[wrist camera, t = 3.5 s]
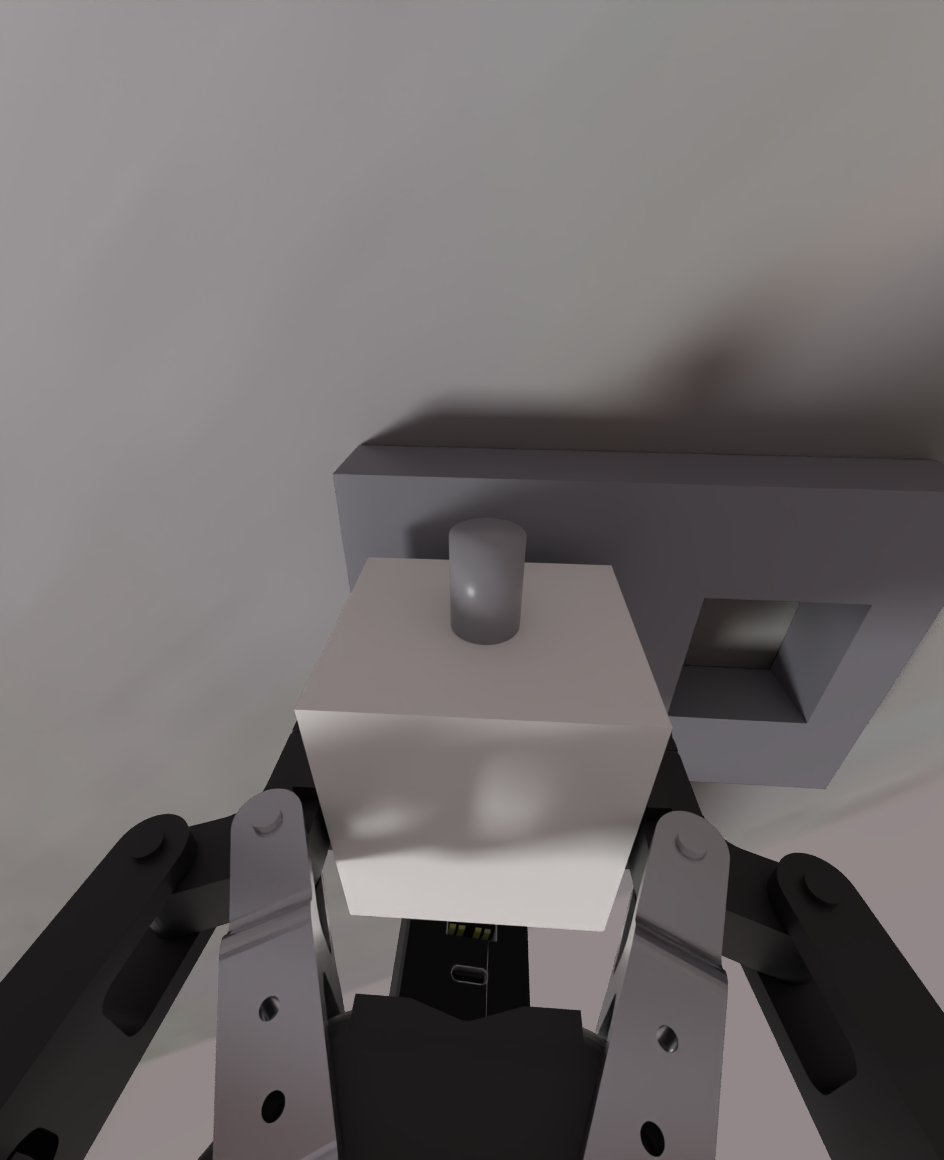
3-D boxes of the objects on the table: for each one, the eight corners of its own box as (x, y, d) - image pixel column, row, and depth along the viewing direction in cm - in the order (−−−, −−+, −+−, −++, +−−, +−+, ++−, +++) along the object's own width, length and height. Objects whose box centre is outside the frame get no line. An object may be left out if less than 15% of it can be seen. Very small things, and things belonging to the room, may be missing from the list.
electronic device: (524, 775, 21) (536, 1097, 13) (483, 885, 27) (472, 1165, 18) (432, 759, 21) (383, 1076, 13) (408, 873, 26) (363, 1151, 18)
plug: (378, 453, 13) (266, 608, 7) (609, 458, 12) (707, 625, 6) (402, 698, 17) (350, 914, 11) (568, 705, 17) (603, 931, 11)
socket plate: (358, 444, 14) (332, 474, 12) (933, 459, 13) (1015, 494, 11) (390, 711, 20) (376, 762, 18) (789, 732, 19) (825, 789, 17)
